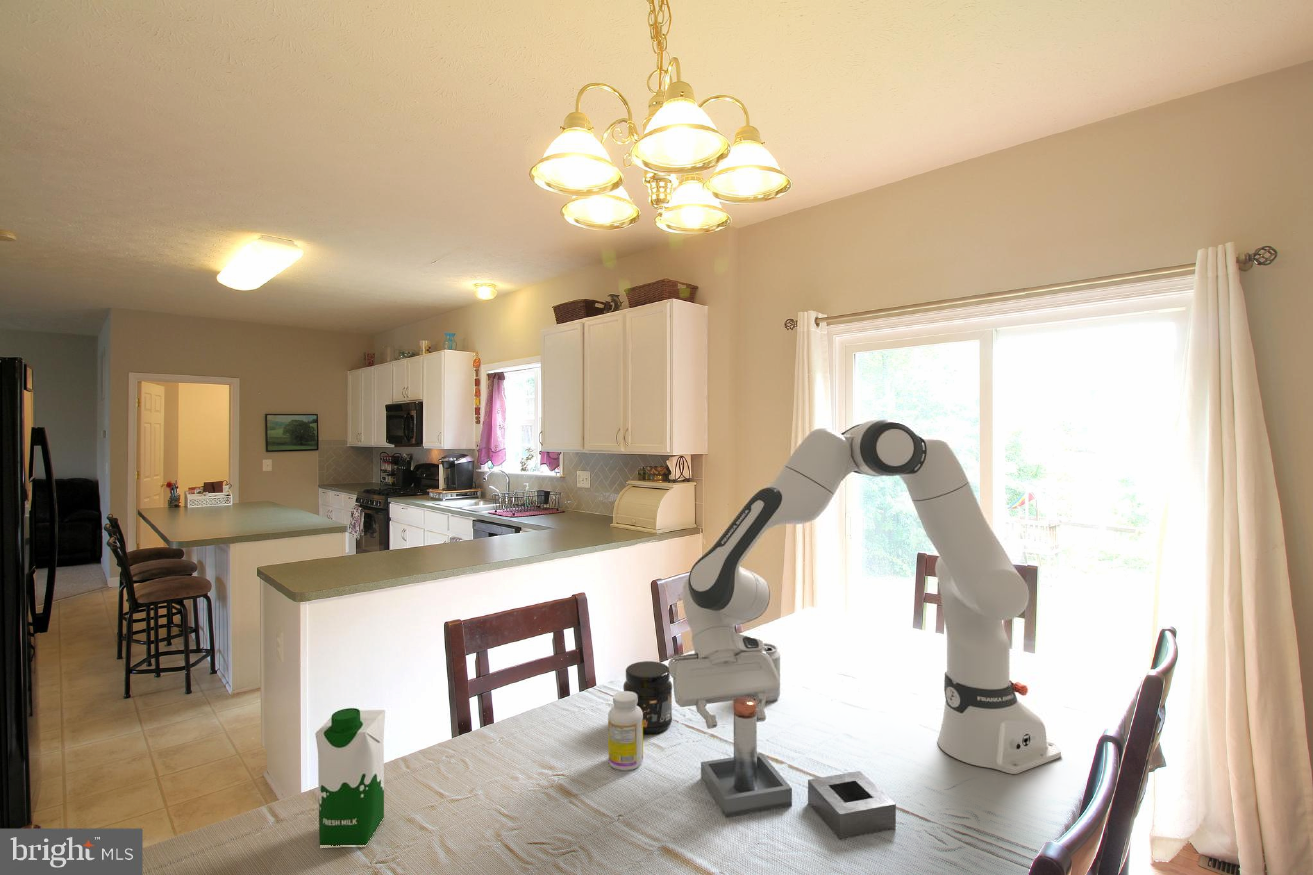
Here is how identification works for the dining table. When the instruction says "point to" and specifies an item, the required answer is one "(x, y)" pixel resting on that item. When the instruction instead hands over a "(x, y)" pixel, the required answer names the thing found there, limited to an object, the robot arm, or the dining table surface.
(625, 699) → the supplement bottle
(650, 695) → the supplement container
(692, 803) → the dining table surface
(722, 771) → the tray
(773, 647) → the can
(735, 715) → the pin
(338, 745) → the milk carton
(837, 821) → the socket
